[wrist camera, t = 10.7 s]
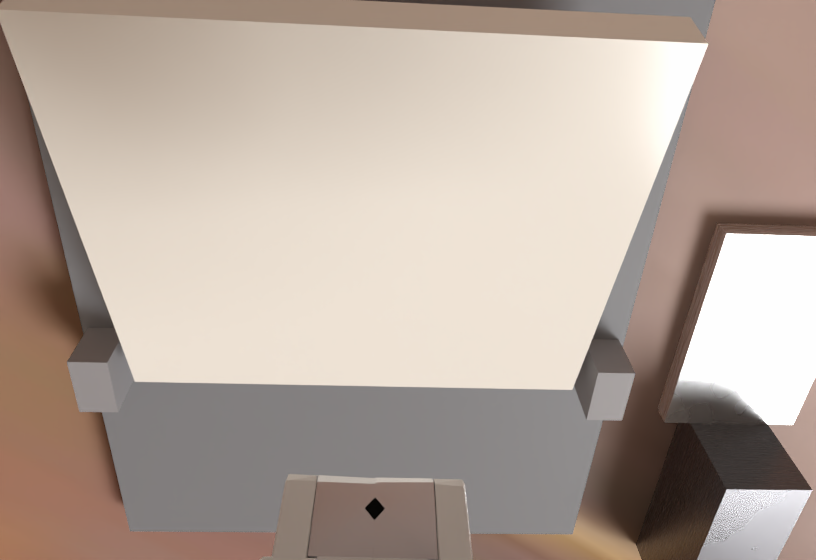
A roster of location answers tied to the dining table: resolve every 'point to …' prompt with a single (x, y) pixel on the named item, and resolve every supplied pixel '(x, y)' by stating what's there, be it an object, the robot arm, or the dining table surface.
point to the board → (359, 402)
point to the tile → (353, 179)
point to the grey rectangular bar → (737, 400)
